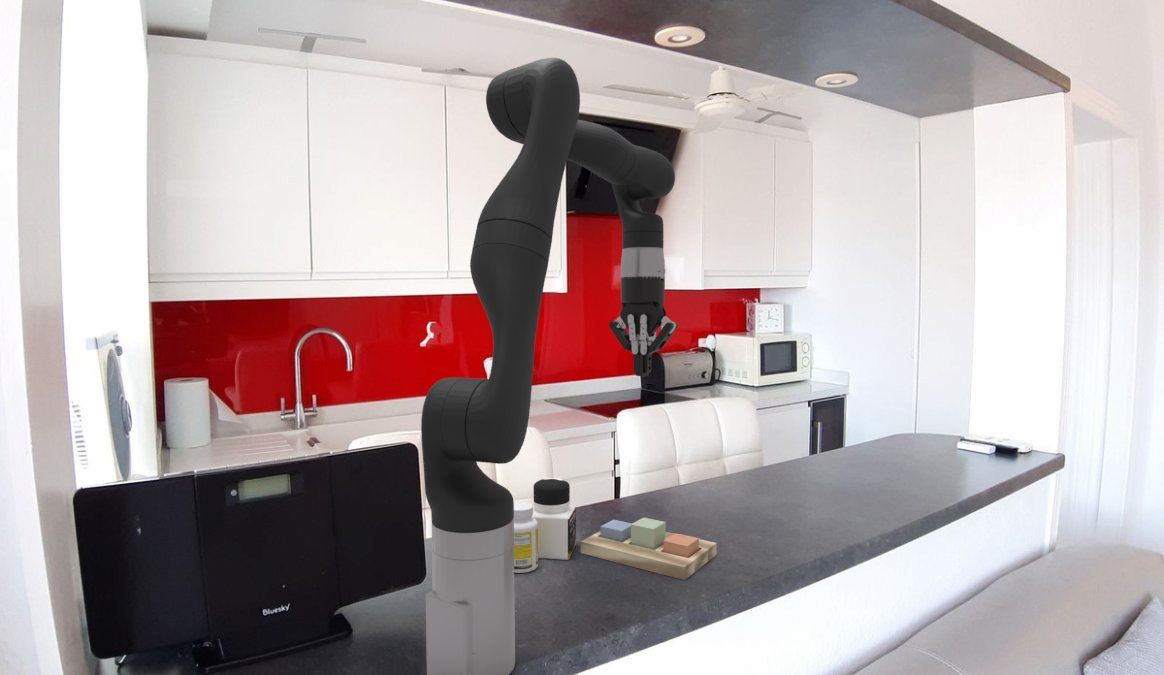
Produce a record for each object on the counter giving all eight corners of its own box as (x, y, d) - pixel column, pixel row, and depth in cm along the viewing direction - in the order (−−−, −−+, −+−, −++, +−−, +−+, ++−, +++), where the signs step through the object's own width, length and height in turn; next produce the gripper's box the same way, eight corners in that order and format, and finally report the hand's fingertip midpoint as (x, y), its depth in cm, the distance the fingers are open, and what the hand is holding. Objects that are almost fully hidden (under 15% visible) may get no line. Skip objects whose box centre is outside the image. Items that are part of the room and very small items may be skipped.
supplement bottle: (521, 557, 108) (520, 498, 107) (545, 566, 105) (545, 505, 104) (496, 568, 104) (496, 506, 103) (521, 577, 100) (520, 513, 100)
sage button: (653, 550, 106) (653, 529, 106) (630, 545, 109) (630, 524, 109) (665, 542, 110) (665, 522, 110) (643, 537, 112) (643, 517, 112)
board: (684, 580, 99) (684, 567, 99) (580, 553, 110) (580, 541, 110) (716, 554, 109) (716, 543, 109) (618, 532, 120) (618, 521, 120)
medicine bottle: (568, 560, 107) (568, 487, 106) (526, 558, 108) (525, 485, 107) (576, 544, 114) (576, 476, 113) (536, 542, 115) (535, 474, 114)
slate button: (621, 551, 110) (621, 531, 110) (600, 546, 112) (600, 526, 112) (634, 544, 113) (634, 524, 113) (613, 539, 116) (613, 519, 115)
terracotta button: (687, 568, 103) (687, 546, 103) (663, 562, 105) (663, 540, 105) (698, 559, 106) (698, 538, 106) (675, 553, 109) (675, 533, 109)
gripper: (598, 275, 114) (598, 375, 115) (667, 273, 106) (666, 380, 107) (621, 277, 120) (621, 371, 121) (687, 275, 113) (686, 376, 113)
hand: (642, 375), depth 114 cm, fingers closed
